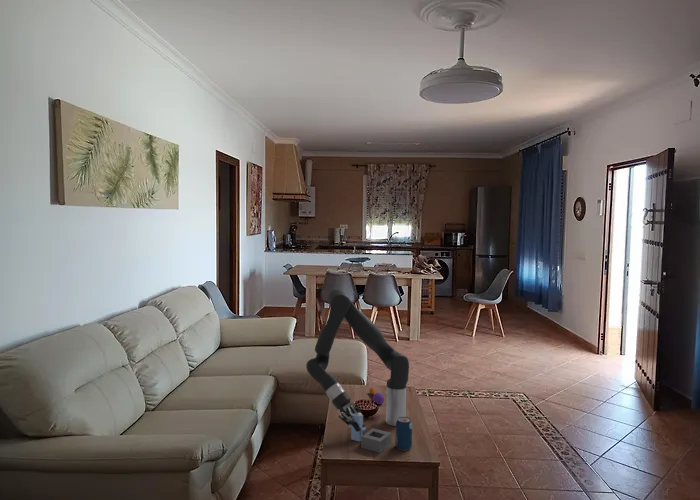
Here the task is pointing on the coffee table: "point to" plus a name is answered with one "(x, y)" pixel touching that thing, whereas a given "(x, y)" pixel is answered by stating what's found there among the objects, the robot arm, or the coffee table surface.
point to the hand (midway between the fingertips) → (361, 429)
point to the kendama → (377, 396)
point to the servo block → (359, 420)
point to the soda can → (403, 433)
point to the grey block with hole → (376, 440)
